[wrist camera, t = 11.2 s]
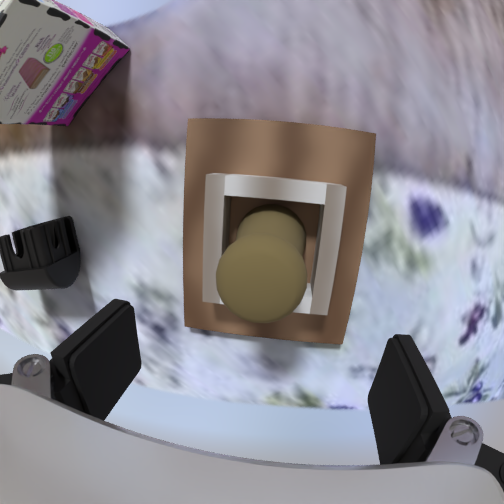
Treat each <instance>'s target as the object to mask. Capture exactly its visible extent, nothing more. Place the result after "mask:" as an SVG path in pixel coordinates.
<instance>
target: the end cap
mask: <svg viewBox="0 0 504 504" xmlns="http://www.w3.org/2000/svg"><path fill="white" fill-rule="evenodd" d="M12 235H13V240H14V244H15V248H16V254H15V252H14V250H13V247H12V243H11V239H10V235H4V236H1V237H0V255H1V259H2V262H3V266H4V269H5V271H3V272H1V273H0V278H1V280H2V281H3V283H4V284H5V285H6V286H7V287H8V288H10V289H12V290H37V289H59V288H67V287H69V286H71V285H72V284H73V283H74V282H75V280H76V278H77V276H78V273H79V269H80V249H79V245H78V240H77V236H76V232H75V227H74V222H73V219H72V217H71V216H67V217H63V218H59V219H55V220H51V221H47V222H44V223H40V224H36V225H33V226H29V227H27V228H23V229H20V230H17V231H15V232H12Z"/></svg>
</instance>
